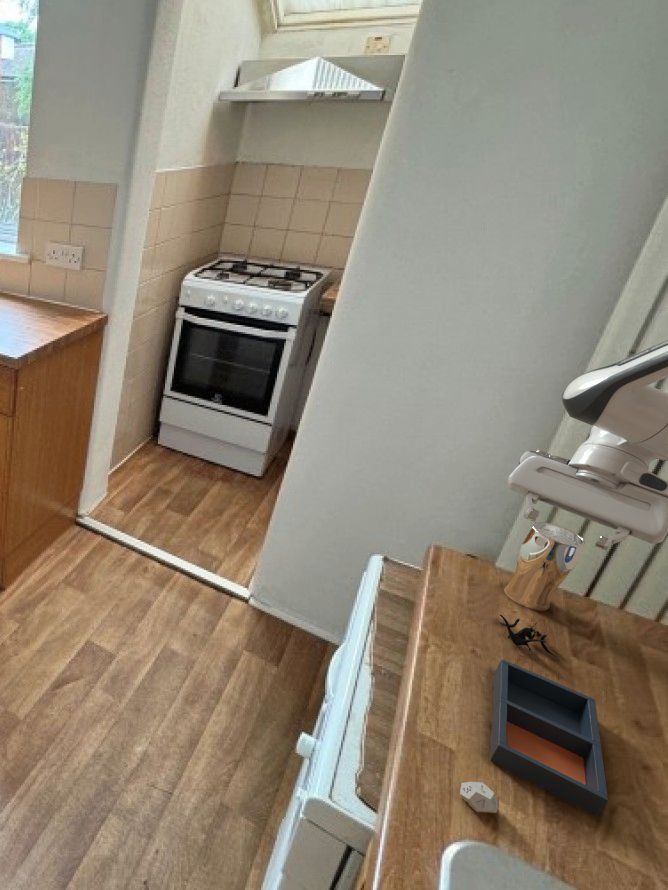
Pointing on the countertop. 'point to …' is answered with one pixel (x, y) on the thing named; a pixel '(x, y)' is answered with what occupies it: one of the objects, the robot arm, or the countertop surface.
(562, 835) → the countertop surface
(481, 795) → the game die
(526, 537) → the beer glass
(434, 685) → the countertop surface
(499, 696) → the glass rack
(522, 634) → the creature
